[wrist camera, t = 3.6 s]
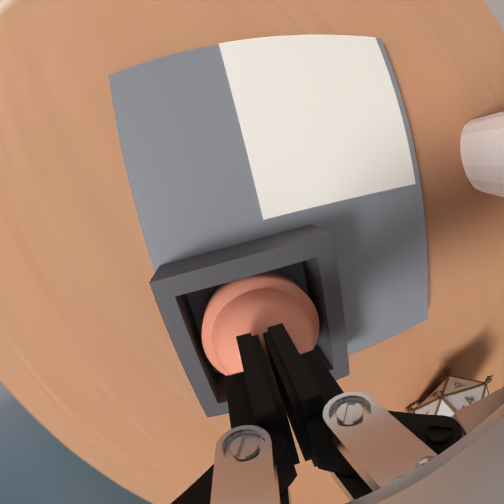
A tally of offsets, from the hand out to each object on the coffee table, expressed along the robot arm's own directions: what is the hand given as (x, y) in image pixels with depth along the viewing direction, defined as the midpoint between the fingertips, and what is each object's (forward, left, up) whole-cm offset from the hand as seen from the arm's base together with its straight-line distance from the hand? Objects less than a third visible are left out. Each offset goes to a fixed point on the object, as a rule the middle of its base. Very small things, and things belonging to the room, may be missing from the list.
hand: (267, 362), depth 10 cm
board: (+4, -4, -5) cm, 8 cm away
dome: (0, 0, -4) cm, 4 cm away
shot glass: (+5, -20, -6) cm, 21 cm away
